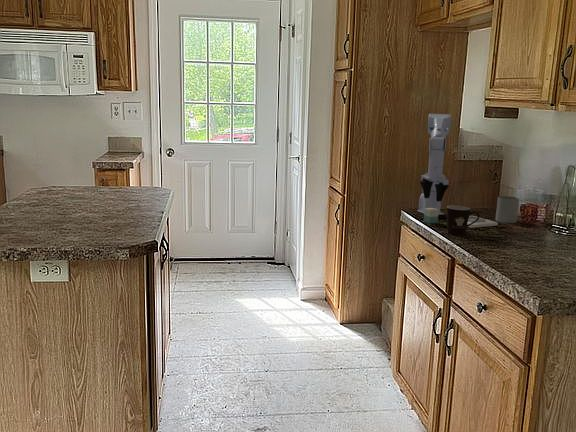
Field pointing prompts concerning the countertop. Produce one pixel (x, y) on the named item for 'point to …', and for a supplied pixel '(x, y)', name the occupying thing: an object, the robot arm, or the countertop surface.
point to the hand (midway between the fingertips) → (432, 199)
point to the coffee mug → (458, 219)
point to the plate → (480, 222)
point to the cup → (507, 209)
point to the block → (431, 215)
